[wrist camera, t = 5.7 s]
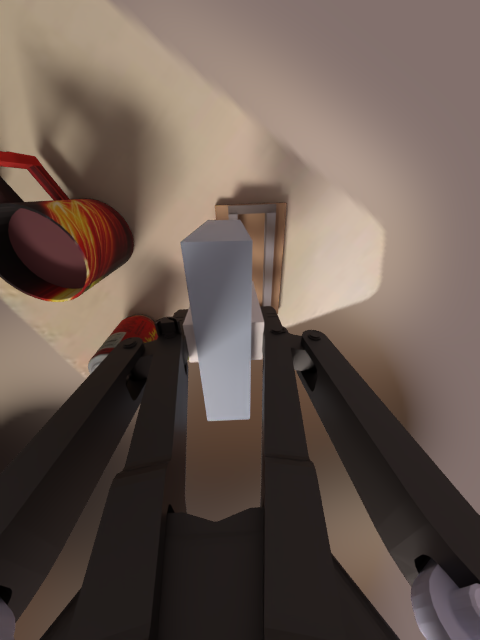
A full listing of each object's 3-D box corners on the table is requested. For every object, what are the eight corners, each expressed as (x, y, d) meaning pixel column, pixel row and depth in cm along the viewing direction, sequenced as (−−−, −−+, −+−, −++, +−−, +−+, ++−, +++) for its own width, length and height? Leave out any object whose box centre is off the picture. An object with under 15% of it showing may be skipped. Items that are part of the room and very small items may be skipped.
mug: (38, 154, 25) (-88, 130, 15) (144, 230, 30) (103, 250, 20) (21, 222, 29) (-89, 239, 19) (118, 279, 34) (73, 316, 24)
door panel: (207, 220, 19) (180, 242, 8) (240, 219, 19) (252, 240, 9) (216, 329, 25) (207, 421, 14) (241, 328, 25) (249, 419, 15)
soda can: (113, 322, 38) (72, 371, 28) (142, 305, 37) (110, 349, 27) (141, 346, 42) (113, 398, 32) (168, 332, 40) (149, 381, 30)
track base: (215, 205, 29) (214, 206, 27) (284, 202, 29) (289, 203, 27) (224, 313, 39) (224, 321, 36) (276, 311, 39) (280, 318, 37)
